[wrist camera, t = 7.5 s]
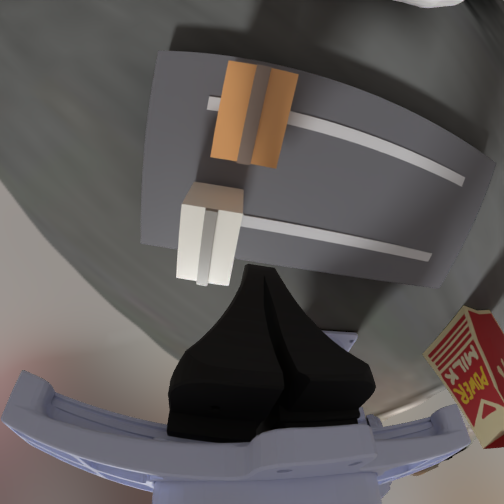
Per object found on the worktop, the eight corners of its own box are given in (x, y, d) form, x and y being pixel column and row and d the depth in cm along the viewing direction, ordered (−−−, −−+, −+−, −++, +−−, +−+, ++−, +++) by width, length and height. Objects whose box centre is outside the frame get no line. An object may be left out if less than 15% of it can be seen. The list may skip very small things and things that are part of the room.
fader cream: (231, 252, 19) (228, 289, 16) (187, 245, 18) (175, 280, 15) (243, 189, 16) (242, 216, 13) (193, 181, 16) (180, 206, 13)
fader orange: (270, 152, 15) (276, 170, 12) (217, 143, 15) (209, 158, 12) (287, 78, 13) (300, 73, 10) (232, 68, 13) (228, 59, 9)
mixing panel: (429, 276, 24) (439, 289, 22) (148, 230, 20) (140, 244, 19) (482, 156, 17) (497, 163, 15) (167, 54, 14) (157, 50, 12)
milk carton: (422, 354, 31) (469, 478, 14) (461, 304, 26) (533, 437, 9) (457, 353, 32) (502, 456, 15) (492, 309, 28) (553, 416, 11)
